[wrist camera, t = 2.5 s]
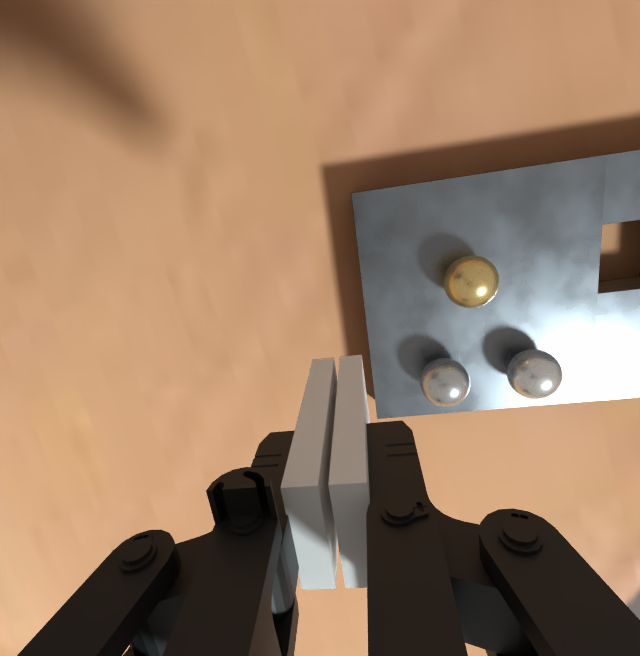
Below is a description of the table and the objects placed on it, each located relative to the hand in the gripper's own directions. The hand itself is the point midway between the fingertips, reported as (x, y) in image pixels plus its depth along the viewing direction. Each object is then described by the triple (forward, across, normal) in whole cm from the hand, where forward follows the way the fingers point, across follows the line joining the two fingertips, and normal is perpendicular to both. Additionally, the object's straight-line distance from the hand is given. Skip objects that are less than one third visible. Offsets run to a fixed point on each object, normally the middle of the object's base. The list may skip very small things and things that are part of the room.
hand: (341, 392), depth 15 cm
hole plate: (+18, +13, -2) cm, 23 cm away
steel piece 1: (+14, +6, -7) cm, 17 cm away
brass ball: (+14, +8, 0) cm, 16 cm away
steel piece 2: (+14, +12, -7) cm, 20 cm away
